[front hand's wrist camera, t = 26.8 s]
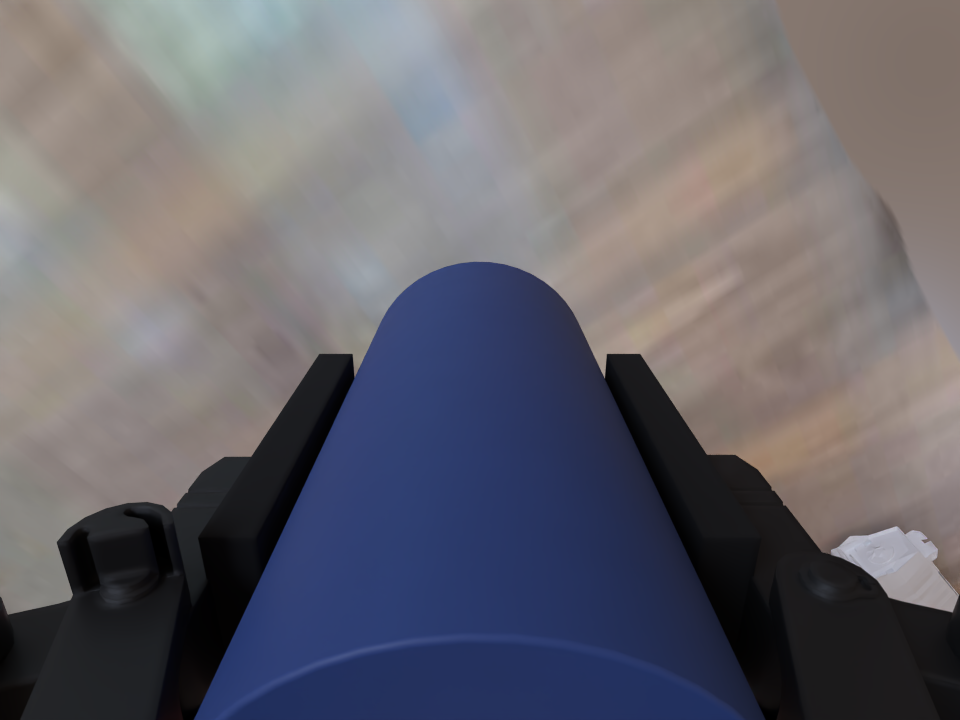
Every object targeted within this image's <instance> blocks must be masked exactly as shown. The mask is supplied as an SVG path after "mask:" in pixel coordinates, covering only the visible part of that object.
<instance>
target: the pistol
mask: <svg viewBox="0 0 960 720" xmlns="http://www.w3.org/2000/svg"><path fill="white" fill-rule="evenodd" d="M923 539H928V538H927V537H926V536H925V535H924V534H923V533H922V532H920V531H915V530H912V531H910V532H908V533H906V534H904V533H903V531H902V530H901V529H900V528H899V527H898V526H896V527H893V528H890V529H887V530H883V531H880V532H877V533H874V534H871V535H867V536H850V537H848V538H847V539H846V540H845V541H844V542H843V543H842V544H841V545H840V546H839V547H837V548H834V549H832V550H831V555H833V556H837V557H841V558H843V559H845V560H847V561H849V562H851V563H853V564H855V565H857V566H859V567H861V568H862V569H864V570H865V571H866V572H867V573H869V574H870V575H871V576H872V577H874V578H875V579H876V580H877V581H878V582H879V583H880V585H881V586H882V588H883V589H884V591H885V592H886V593H887V595H888V597H889V598H892V599H896V600H899V601H903V602H908V603H912V604H917V605H922V606H926V607H931V608H935V609H940V610H945V611H949V612H953V610H954V607H955V605H956V602H957V599H958V597H959V594H958V593H957V592H956V591H955V589H954V588H953V587H952V586H951V585H950V583H949V582H948V581H947V580H946V579H945V578H944V576H943V575H942V574H941V573H940V571H939V569H938V568H937V567H936V566H935V565H934V562H932V561H933V560H935V559H936V558H937V554H938V549H937V548H936V546H935V545H934V544H933V543H932V542H931V541H929V542H927V543H924V542H923V541H922V540H923Z"/></svg>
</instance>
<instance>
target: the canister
mask: <svg viewBox="0 0 960 720" xmlns="http://www.w3.org/2000/svg"><path fill="white" fill-rule="evenodd" d="M194 720H765V718H764V715H763V713H762V711H761V709H760V707H759V705H758V703H757V701H756V699H755V696H754V694H753V692H752V690H751V688H750V686H749V684H748V682H747V679H746V677H745V675H744V673H743V671H742V669H741V667H740V665H739V662H738V660H737V658H736V656H735V654H734V652H733V650H732V648H731V645H730V643H729V641H728V639H727V637H726V635H725V633H724V631H723V629H722V626H721V624H720V622H719V620H718V618H717V616H716V614H715V612H714V609H713V607H712V605H711V603H710V601H709V599H708V597H707V595H706V592H705V590H704V588H703V586H702V584H701V582H700V580H699V578H698V576H697V573H696V571H695V569H694V567H693V565H692V563H691V561H690V559H689V556H688V554H687V552H686V550H685V548H684V546H683V544H682V542H681V539H680V537H679V535H678V533H677V531H676V529H675V527H674V525H673V523H672V520H671V518H670V516H669V514H668V512H667V510H666V508H665V506H664V503H663V501H662V499H661V497H660V495H659V493H658V491H657V489H656V486H655V484H654V482H653V480H652V478H651V476H650V474H649V472H648V469H647V467H646V465H645V463H644V461H643V459H642V457H641V455H640V453H639V450H638V448H637V446H636V444H635V442H634V440H633V438H632V436H631V433H630V431H629V429H628V427H627V425H626V423H625V421H624V419H623V416H622V414H621V412H620V410H619V408H618V406H617V404H616V402H615V400H614V397H613V395H612V393H611V391H610V389H609V387H608V385H607V383H606V380H605V378H604V376H603V374H602V372H601V370H600V368H599V366H598V363H597V361H596V359H595V357H594V355H593V353H592V351H591V349H590V346H589V344H588V342H587V340H586V338H585V336H584V334H583V332H582V330H581V327H580V325H579V323H578V321H577V319H576V317H575V315H574V314H573V312H572V310H571V309H570V308H569V306H568V305H567V303H566V302H565V301H564V300H563V298H562V297H561V296H560V295H559V294H558V293H557V292H556V291H555V290H554V289H552V288H551V287H550V286H549V285H547V284H546V283H545V282H544V281H542V280H540V279H539V278H537V277H535V276H534V275H532V274H530V273H528V272H525V271H523V270H521V269H518V268H515V267H511V266H508V265H504V264H498V263H492V262H469V263H460V264H456V265H451V266H447V267H444V268H441V269H439V270H436V271H434V272H431V273H429V274H428V275H426V276H424V277H422V278H420V279H419V280H417V281H416V282H414V283H413V284H412V285H410V286H409V287H408V288H407V289H406V290H405V291H403V292H402V293H401V294H400V295H399V296H398V297H397V299H396V300H395V301H394V302H393V304H392V305H391V306H390V307H389V309H388V311H387V312H386V314H385V316H384V318H383V319H382V321H381V323H380V325H379V328H378V330H377V332H376V334H375V336H374V338H373V340H372V342H371V345H370V347H369V349H368V351H367V353H366V355H365V357H364V359H363V362H362V364H361V366H360V368H359V370H358V372H357V374H356V376H355V379H354V381H353V383H352V385H351V387H350V389H349V391H348V393H347V396H346V398H345V400H344V402H343V404H342V406H341V408H340V410H339V413H338V415H337V417H336V419H335V421H334V423H333V425H332V428H331V430H330V432H329V434H328V436H327V438H326V440H325V442H324V445H323V447H322V449H321V451H320V453H319V455H318V457H317V459H316V462H315V464H314V466H313V468H312V470H311V472H310V474H309V476H308V479H307V481H306V483H305V485H304V487H303V489H302V491H301V493H300V496H299V498H298V500H297V502H296V504H295V506H294V508H293V510H292V513H291V515H290V517H289V519H288V521H287V523H286V525H285V527H284V530H283V532H282V534H281V536H280V538H279V540H278V542H277V544H276V547H275V549H274V551H273V553H272V555H271V557H270V559H269V561H268V564H267V566H266V568H265V570H264V572H263V574H262V576H261V578H260V581H259V583H258V585H257V587H256V589H255V591H254V593H253V595H252V598H251V600H250V602H249V604H248V606H247V608H246V610H245V612H244V615H243V617H242V619H241V621H240V623H239V625H238V627H237V629H236V632H235V634H234V636H233V638H232V640H231V642H230V644H229V646H228V649H227V651H226V653H225V655H224V657H223V659H222V661H221V663H220V666H219V668H218V670H217V672H216V674H215V676H214V678H213V680H212V683H211V685H210V687H209V689H208V691H207V693H206V695H205V697H204V700H203V702H202V704H201V706H200V708H199V710H198V712H197V714H196V717H195V719H194Z"/></svg>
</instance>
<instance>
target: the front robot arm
mask: <svg viewBox="0 0 960 720" xmlns="http://www.w3.org/2000/svg"><path fill="white" fill-rule="evenodd" d="M354 379H355V378H354V366H353V354H319V355H318V357H317V358H316V360H315V361H314V363H313V365H312V366H311V368H310V369H309V371H308V372H307V374H306V375H305V377H304V378H303V380H302V381H301V383H300V384H299V386H298V387H297V389H296V390H295V392H294V393H293V395H292V396H291V398H290V399H289V401H288V402H287V404H286V405H285V407H284V408H283V410H282V411H281V413H280V414H279V416H278V417H277V419H276V420H275V422H274V423H273V425H272V426H271V428H270V429H269V431H268V432H267V434H266V435H265V437H264V438H263V440H262V441H261V443H260V444H259V446H258V447H257V449H256V451H255V452H254V454H253V455H252V457H224V458H222V459H221V460H219V461H218V462H216V463H215V464H213V465H212V466H210V467H209V468H207V469H206V470H204V471H203V472H202V473H201V474H200V475H199V476H198V478H197V479H196V480H195V482H194V483H193V484H192V486H191V487H190V488H189V489H188V493H185V495H184V496H183V497H182V498H181V500H180V501H179V502H178V504H177V508H174V509H173V510H172V511H171V512H170V511H169V510H168V509H167V508H165V507H164V506H163V505H159V504H154V503H149V502H141V503H127V504H122V505H118V506H114V507H110V508H106V509H104V510H101V511H99V512H97V513H94V514H92V515H90V516H87V517H85V518H84V519H82V520H81V521H79V522H78V523H76V524H75V525H73V526H72V527H70V528H69V529H67V531H66V532H65V533H64V534H63V535H62V537H61V538H60V539H59V540H58V541H57V545H58V548H59V551H60V555H61V558H62V561H63V564H64V567H65V570H66V574H67V577H68V580H69V583H70V586H71V590H72V593H73V596H72V599H71V600H70V601H66V602H63V603H59V604H55V605H51V606H46V607H41V608H37V609H32V610H28V611H23V612H19V613H14V614H9V615H8V614H7V612H6V609H5V606H4V604H3V601H2V598H1V597H0V720H194V719H195V717H196V714H197V712H198V710H199V708H200V706H201V704H202V702H203V700H204V697H205V695H206V693H207V691H208V689H209V687H210V685H211V683H212V680H213V678H214V676H215V674H216V672H217V670H218V668H219V666H220V663H221V661H222V659H223V657H224V655H225V653H226V651H227V649H228V646H229V644H230V642H231V640H232V638H233V636H234V634H235V632H236V629H237V627H238V625H239V623H240V621H241V619H242V617H243V615H244V612H245V610H246V608H247V606H248V604H249V602H250V600H251V598H252V595H253V593H254V591H255V589H256V587H257V585H258V583H259V581H260V578H261V576H262V574H263V572H264V570H265V568H266V566H267V564H268V561H269V559H270V557H271V555H272V553H273V551H274V549H275V547H276V544H277V542H278V540H279V538H280V536H281V534H282V532H283V530H284V527H285V525H286V523H287V521H288V519H289V517H290V515H291V513H292V510H293V508H294V506H295V504H296V502H297V500H298V498H299V496H300V493H301V491H302V489H303V487H304V485H305V483H306V481H307V479H308V476H309V474H310V472H311V470H312V468H313V466H314V464H315V462H316V459H317V457H318V455H319V453H320V451H321V449H322V447H323V445H324V442H325V440H326V438H327V436H328V434H329V432H330V430H331V428H332V425H333V423H334V421H335V419H336V417H337V415H338V413H339V410H340V408H341V406H342V404H343V402H344V400H345V398H346V396H347V393H348V391H349V389H350V387H351V385H352V383H353V381H354ZM605 380H606V383H607V385H608V387H609V389H610V391H611V393H612V395H613V397H614V400H615V402H616V404H617V406H618V408H619V410H620V412H621V414H622V416H623V419H624V421H625V423H626V425H627V427H628V429H629V431H630V433H631V436H632V438H633V440H634V442H635V444H636V446H637V448H638V450H639V453H640V455H641V457H642V459H643V461H644V463H645V465H646V467H647V469H648V472H649V474H650V476H651V478H652V480H653V482H654V484H655V486H656V489H657V491H658V493H659V495H660V497H661V499H662V501H663V503H664V506H665V508H666V510H667V512H668V514H669V516H670V518H671V520H672V523H673V525H674V527H675V529H676V531H677V533H678V535H679V537H680V539H681V542H682V544H683V546H684V548H685V550H686V552H687V554H688V556H689V559H690V561H691V563H692V565H693V567H694V569H695V571H696V573H697V576H698V578H699V580H700V582H701V584H702V586H703V588H704V590H705V592H706V595H707V597H708V599H709V601H710V603H711V605H712V607H713V609H714V612H715V614H716V616H717V618H718V620H719V622H720V624H721V626H722V629H723V631H724V633H725V635H726V637H727V639H728V641H729V643H730V645H731V648H732V650H733V652H734V654H735V656H736V658H737V660H738V662H739V665H740V667H741V669H742V671H743V673H744V675H745V677H746V679H747V682H748V684H749V686H750V688H751V690H752V692H753V694H754V696H755V699H756V701H757V703H758V705H759V707H760V709H761V711H762V713H763V715H764V718H765V720H960V595H959V597H958V599H957V602H956V605H955V607H954V610H953V612H949V611H945V610H940V609H935V608H931V607H926V606H922V605H917V604H912V603H908V602H903V601H899V600H896V599H892V598H889V597H888V595H887V593H886V592H885V591H884V589H883V588H882V586H881V585H880V583H879V582H878V581H877V580H876V579H875V578H874V577H872V576H871V575H870V574H869V573H867V572H866V571H865V570H864V569H862V568H861V567H859V566H857V565H855V564H853V563H851V562H849V561H847V560H845V559H843V558H841V557H837V556H833V555H830V554H826V553H823V552H821V550H820V549H819V548H818V547H817V545H816V544H815V543H814V541H813V540H812V539H811V538H810V536H809V535H808V534H807V532H806V531H805V530H804V529H803V527H802V526H801V525H800V523H799V522H798V521H797V520H796V518H795V517H794V516H793V514H792V513H791V512H790V511H789V509H788V508H787V507H786V506H783V502H782V500H781V499H780V498H779V496H778V495H777V494H776V493H775V491H772V489H771V486H770V485H769V484H768V482H767V481H766V480H765V478H764V477H763V476H762V475H761V473H760V472H759V471H758V470H757V469H756V468H754V467H753V466H751V465H750V464H748V463H747V462H745V461H744V460H742V459H741V458H739V457H738V456H736V455H707V454H706V453H705V451H704V450H703V448H702V447H701V445H700V444H699V442H698V441H697V439H696V438H695V436H694V435H693V433H692V432H691V430H690V429H689V427H688V426H687V424H686V423H685V421H684V420H683V418H682V417H681V415H680V414H679V412H678V410H677V409H676V407H675V406H674V404H673V403H672V401H671V400H670V398H669V397H668V395H667V394H666V392H665V391H664V389H663V388H662V386H661V385H660V383H659V382H658V380H657V379H656V377H655V376H654V374H653V373H652V371H651V370H650V368H649V367H648V365H647V364H646V362H645V361H644V359H643V358H642V356H641V355H640V354H607V360H606V372H605Z"/></svg>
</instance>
